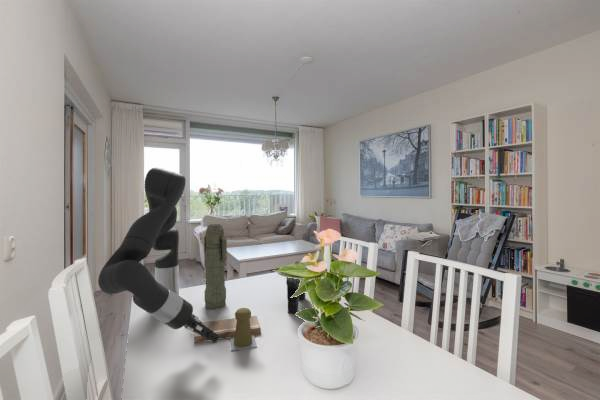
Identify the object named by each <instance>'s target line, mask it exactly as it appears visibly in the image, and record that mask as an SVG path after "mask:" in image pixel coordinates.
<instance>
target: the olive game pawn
mask: <svg viewBox="0 0 600 400" xmlns="http://www.w3.org/2000/svg"><path fill="white" fill-rule="evenodd" d="M251 316H252V312H251V310H250V309H249V308H247V307H239V308H238V309H237V310H236V311H235V314H234V318H236V320H237V322H236V330H235V338H234V345H235V346H237V347H247V346H249V345H251V344H252V335H251V327H250V320H249V319H250V318H251Z"/></svg>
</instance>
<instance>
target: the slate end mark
mask: <svg viewBox="0 0 600 400" xmlns="http://www.w3.org/2000/svg"><path fill="white" fill-rule="evenodd" d="M251 335H252V344H251V345H249V346H247V347H237V346H235V345H234V338H235V337H230V338H229V340H230V349H231V352H235V351H241V350H248V349H254V348H255V349H256V348H258V345H257V342H256V338H255V334H251Z"/></svg>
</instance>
